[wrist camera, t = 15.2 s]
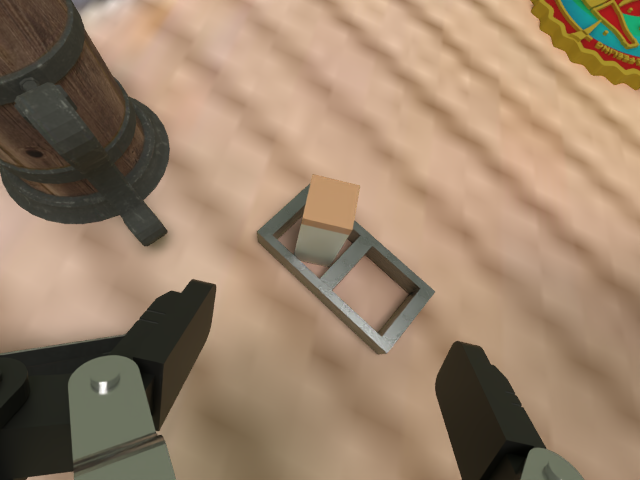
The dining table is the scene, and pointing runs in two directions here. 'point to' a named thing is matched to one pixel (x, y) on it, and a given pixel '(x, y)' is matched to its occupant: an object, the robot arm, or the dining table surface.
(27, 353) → the toy gun
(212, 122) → the dining table surface
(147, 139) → the tankard
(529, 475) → the robot arm
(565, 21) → the decorative plaque
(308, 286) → the divided rectangular frame
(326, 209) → the two-tone square post
